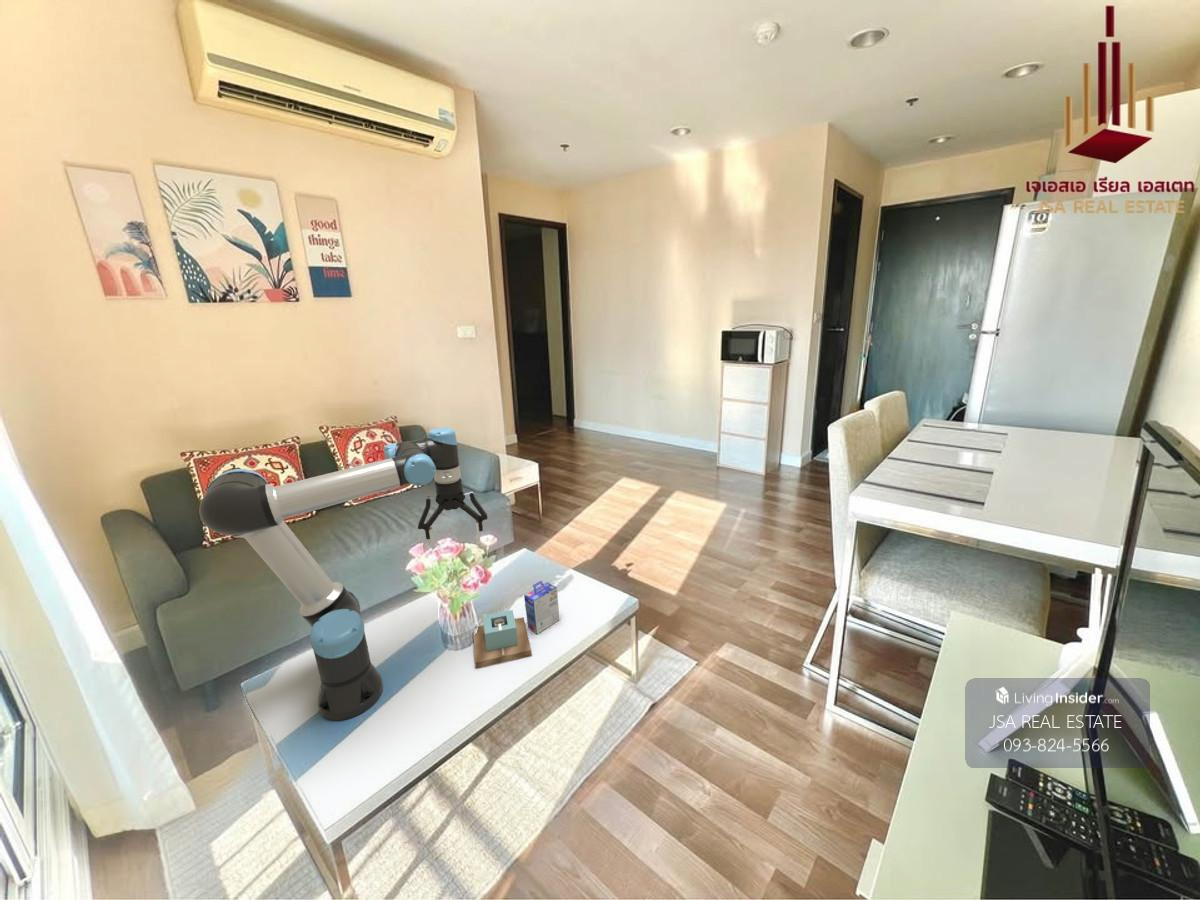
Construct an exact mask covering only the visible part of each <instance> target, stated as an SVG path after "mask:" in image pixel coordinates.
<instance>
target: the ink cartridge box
mask: <svg viewBox="0 0 1200 900" xmlns="http://www.w3.org/2000/svg"><path fill="white" fill-rule="evenodd" d="M532 586H533V589H532V590H531V591H529V592H528V593H526V594H524V596H523V598H524V604H525V605H524V606H525V614H526V622H527V623H526V624H527V629H529V630H530V631H532V632H533V633H535V634H536V635H537V634H539V633H541V632H543V631H544V630H545V629H548V628H549V627H550V626H552V625H554V624H555V623H556V622H559V621H560V611H559V609H560V608H559V607H560V606H559V598H558V597H559V596H558V587H557V586H555V585H553V584H551V583H550V582H547V581H546V582H545V583H544V582H543V581H542V580H540V581H538V582H536V583H534V584H532Z"/></svg>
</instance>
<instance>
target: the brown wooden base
mask: <svg viewBox="0 0 1200 900" xmlns="http://www.w3.org/2000/svg"><path fill="white" fill-rule="evenodd" d="M514 619H515V624H516V632H517V642H518V645H514V646H509V647H505V648H500V649H496V650H491V651H487V648H486V640H485V630H484V624H483V625H480V626H477V627H478V630H477V633H476V634H475V635H474V636H473V651H474V663H475V669H480V668H483V667H488V666H493V665H496V664H501V663H506V662H509V661H514V660H519V659H522V658H523V659H524V658H527V657H531V656H532V655H533V654H532V648H531V644H530V640H529V635H528V634H529V633H528V631H527V626H526V622H525V618H524V617H523V616H522V617H518V618H514ZM494 623H495V627H498V624H501V626H503V625H505V624H504V620H503V619H502V618H499V619H496V620H495V622H494Z"/></svg>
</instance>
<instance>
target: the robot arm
mask: <svg viewBox="0 0 1200 900" xmlns="http://www.w3.org/2000/svg"><path fill="white" fill-rule="evenodd" d="M383 454H384V459H382V460H378V461H373V462H369V463H367V464H362V465H358V466H353V467H349V468H345V469H342V470H341V469H340V470H338V471H337V470H336V471H333V472H329V473H328V472H327V473H325V474H321V475H317V476H312V477H309V478H305V479H300V480H297V481H292V482H288V483H284V484H281V485H276V486H274V485H271V484H269V483H268V481H267V480H266V478H265V477H264V476H263V475H261V474H260V473H259V472H257V471H254V470H252V469H246V468H235V469H234V468H233V469H231V470H226V471H224V472H223V473H221V474H219V475H218V476H216V478H214V479H213V480H211V482H210V483H209V485H208V486H207V489H206V493H205V494H204V496H203V497H202V498H201V501H200V503H199V510H198V514H199V517H200V520H201V522H202V523H203V525H204V526H205V527H206V528H207V529H209V530H211V531H212V532H214V533H217V534H219V535H224V536H231V537H233V538H241V539H242V538H243V539H244V540H246V541H247V543H248V544H249V545H250V546H251V548H252V549H253V550H254V551H255V552H256V553H257V554H258V556H260V558H261V559H262V560H263V561H264V562H265V564H266V565H267V567H269V569H270V570H271V571H272V573H274V574H275V576H276V577H277V578H278V579H279V580H280V581H281V582H282V584H283V585H284V586H285V587H286V588H287V590H288V591H289V592H290V593H291V594H292V595H293V596H294V598H295V599H296V600H297V601H298V603H300V607H299V614H300V615H301V616H302V617H303V619H305V621H306V622H307V623H308V624H309V626H310V627H311V630H310V638H309V639H310V646H311V648H312V650H313V654H314V658H315V663H316V665H317V669H318V674H319V678H320V689H319V693H318V694H319V695H318V701H317V705H318V710H319V714H320V715H321V716H322V717H323V718H325V719H327V720H330V721H343V720H344V721H345V720H348V719H351V718H354V717H356V716H358V715H360V714H361V715H362V713H365V712H366V711H367V710H369V709H370V708H371V707H372V706H374V705H375V704H376V703H377V701H379V698H380V697H381V696H382V693H383V690H384V683H383V679H382V676H381V674H380V673H379V671H378V670H377V669H376V667H375V666H374V665H373V664H372V662H371V656H370V651H369V647H368V646H369V645H368V642H367V637H366V632H365V623H364V621H363V619H362V614H361V613H362V612H361V605H360V601H359V599H358V597H357V596H356V594H355V593H354V592H353V591H351V590H350V589H348V588H346V587H345V586H344V585H343V583H341V582H337V581H334V582H333V581H332V580H331V578H330V577H329V576H328V575H327V574H326V572H325V571H324V569H322V567H321V566H320V565H319V564H318V562H317V561H316V560H315V558H314V556H312V555H311V554H310V552H309V551H308V550H307V548H306V547H305V546H304V545H303V543H302V542H301V541H300V540H299V538H298V537H297V535H296V534H295V533H294V532H293V531H292V530H291V528H290V527H289V526H288V525H287V523H286V522H285V521H284V520H286V519H288V518H291V517H296V516H299V515H303V514H306V513H309V512H313V511H317V510H321V509H324V508H327V507H328V508H329V507H331V506H335V505H338V504H342V503H345V502H348V501H349V502H350V501H352V500H356V499H360V498H364V497H366V496H367V497H368V496H370V495H374V494H377V493H381V492H382V493H383V492H384V491H385V492H386V491H389V490H393V489H395V488H399V487H403V486H406V485H410V484H411V485H414V486H418V487H419V486H421V487H422V486H425V485H427V484H429V483H430V482H431V481H433V479H434V481H435V483H434V486H435V492H436V496H433V497H431V496H430V495H429V496H427V497H426V498H425V507H424V509H423V512H422V514H421V515H420V516H421V517H420V519H419V521H418V525H417V529H418V530H424V532H425V539H426V540H430V546H431V550H432V551H434V550H435V547H436V546H435V545H436V544H435V539H434V538H435V537H434V532H433V525H434V524H433V523H435V521H436V520H437V518H439V516H440V514H442V512H443V511H447V512H448V511H452V510H458V508H459V509H461V510H462V511H463V512H465V513H466V514H467V515H469V516H470V517H471V518H473V520H475V528H476V529H475V530H476V537H477V543H478V544H479V543H481V535H480V532H483V529H484V528H483V527H484V526H483V521H485V520H488V514H487V512H486V511H485V509H484V507H482V506H481V504H480V502H479V501H478V499H477V498H476V497H475V493H474V490H470V491H469V492H466V493H464V490H463V483H462V479H461V477H462V476H461V475H462V473H461V466H460V460H459V449H458V440H457V436H456V432H455V430H454V429H453V428H451V427H436V428H433V429H431V430H429V431H428V432H427V437H426V438H422V439H421V438H420V439H413V440H407V441H401V442H398V441H397V442H395V443H390V444H387V445H385V446H384V448H383ZM465 499H467V500H468V501H471V503H472V505H473V506H474V508H475V509H476V510H477V511H478V513H479V514H478V513H477V511H475V510H474V509H472V508H471V507H470V506H469V505H468V504H466V502H465ZM435 502H436V504H437V505H438V506H437V507H436V509H435V510H434V512H433V513H432V514H431V516H430V517H429V519H428V520H427V521H426V519H427V517H428V514H429V512H430V509H431V506H433V505H434V503H435ZM425 521H426V523H425ZM433 549H434V550H433Z"/></svg>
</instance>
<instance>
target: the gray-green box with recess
mask: <svg viewBox="0 0 1200 900" xmlns="http://www.w3.org/2000/svg"><path fill="white" fill-rule="evenodd" d="M482 618H483V625H484V630H485V640H486V648H487V651H491V650H496V649H500V648H505V647H509V646H514V645H518V642H517V632H516V624H515V619H516V618H515V615H514V611H513V609H511V610H506V611H501V612H500V611H499V612H495V613H490V614H485V615H482ZM499 618H502V619H503V620H504V624H505V625H503V626H501V624H498V627H495V623H494V622H495V620H496V619H499Z"/></svg>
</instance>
